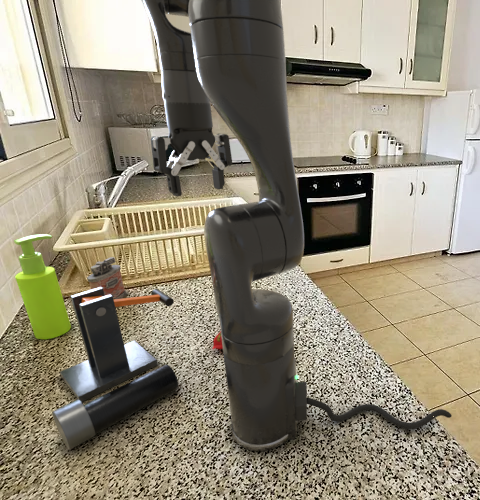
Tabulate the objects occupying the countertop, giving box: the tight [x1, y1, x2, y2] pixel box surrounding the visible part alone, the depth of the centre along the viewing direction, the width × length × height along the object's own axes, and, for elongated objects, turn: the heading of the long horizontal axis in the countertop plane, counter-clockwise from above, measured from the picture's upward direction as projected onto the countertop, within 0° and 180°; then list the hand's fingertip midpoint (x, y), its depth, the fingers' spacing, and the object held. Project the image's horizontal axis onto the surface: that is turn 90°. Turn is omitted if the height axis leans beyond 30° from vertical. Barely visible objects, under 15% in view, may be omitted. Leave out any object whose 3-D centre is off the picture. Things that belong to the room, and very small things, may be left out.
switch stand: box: [59, 287, 158, 403], centre depth 62 cm, size 12×9×15 cm
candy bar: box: [212, 330, 223, 350], centre depth 77 cm, size 16×4×3 cm, turn 168°
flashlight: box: [51, 363, 179, 451], centre depth 55 cm, size 15×6×6 cm, turn 141°
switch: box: [82, 288, 175, 308], centre depth 64 cm, size 13×6×2 cm, turn 141°
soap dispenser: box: [13, 233, 72, 340], centre depth 73 cm, size 6×7×20 cm
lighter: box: [86, 256, 127, 299], centre depth 86 cm, size 8×3×10 cm, turn 168°
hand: (198, 192), depth 71 cm, fingers open, 8 cm apart
